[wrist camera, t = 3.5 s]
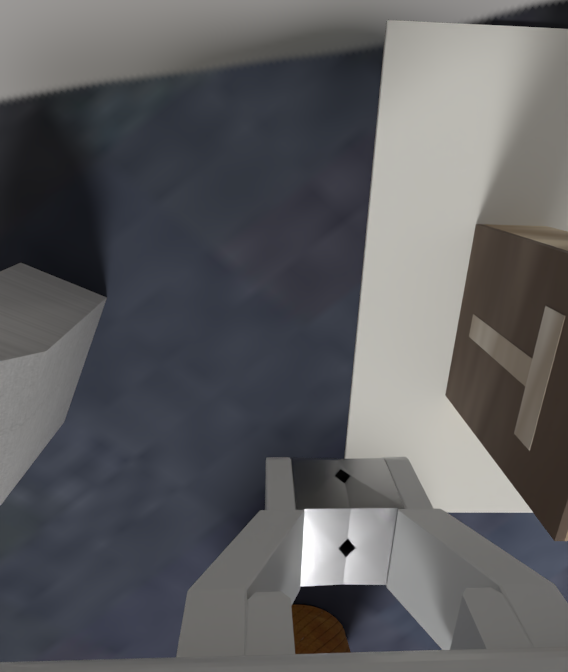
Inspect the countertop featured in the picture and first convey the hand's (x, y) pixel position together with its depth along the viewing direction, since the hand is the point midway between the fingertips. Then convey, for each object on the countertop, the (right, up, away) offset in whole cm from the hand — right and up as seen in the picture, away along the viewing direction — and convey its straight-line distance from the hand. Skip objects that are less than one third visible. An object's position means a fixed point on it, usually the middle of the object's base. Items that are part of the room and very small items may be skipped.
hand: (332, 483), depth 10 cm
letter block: (+8, +4, +11) cm, 14 cm away
